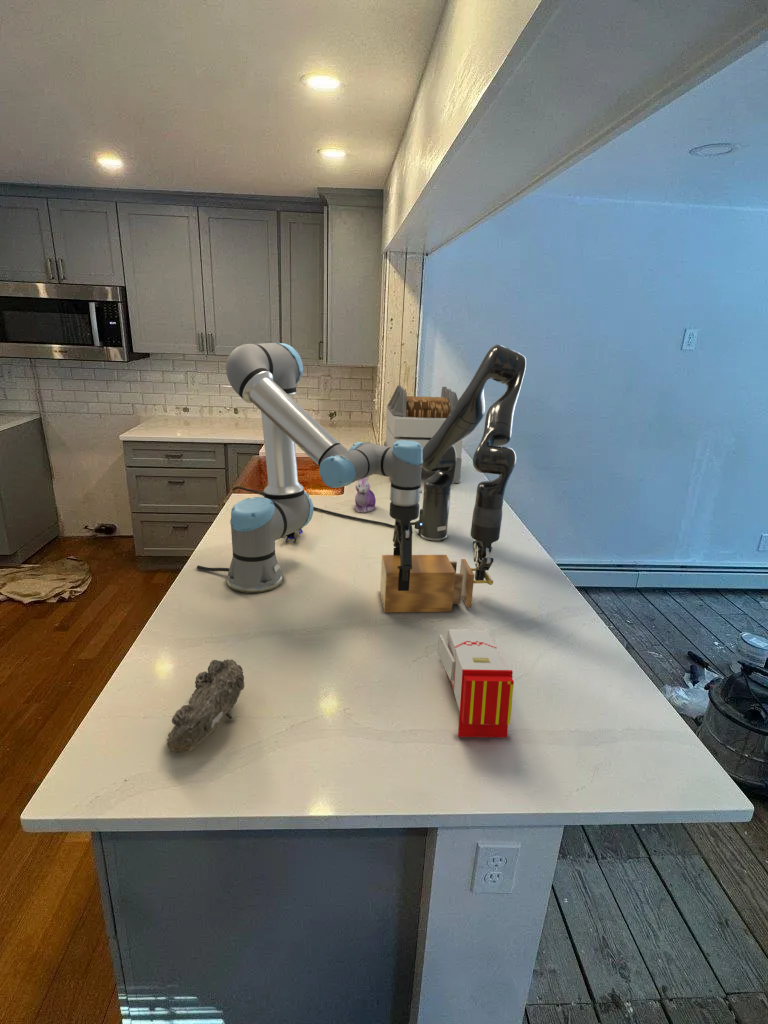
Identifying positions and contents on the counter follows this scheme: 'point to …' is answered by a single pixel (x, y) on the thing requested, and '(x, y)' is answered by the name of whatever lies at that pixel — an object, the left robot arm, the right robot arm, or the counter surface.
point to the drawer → (466, 582)
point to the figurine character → (293, 535)
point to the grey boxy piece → (420, 419)
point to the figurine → (364, 496)
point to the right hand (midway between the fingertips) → (479, 580)
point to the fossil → (206, 705)
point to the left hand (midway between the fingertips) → (400, 579)
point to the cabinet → (418, 584)
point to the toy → (478, 682)
